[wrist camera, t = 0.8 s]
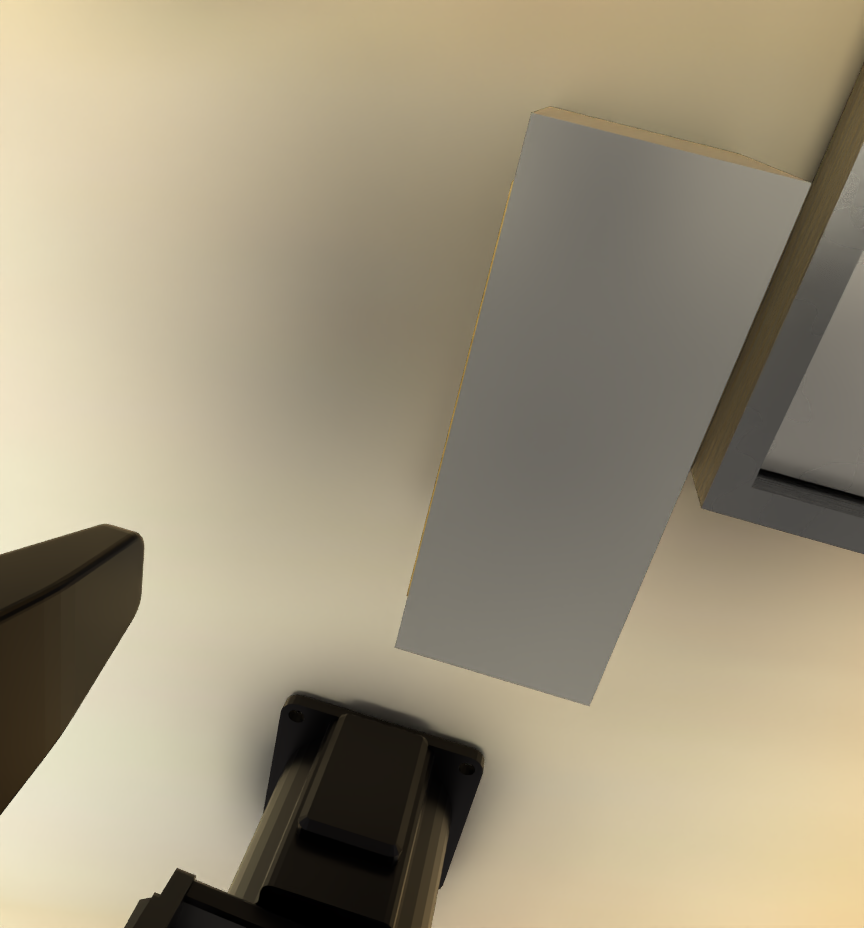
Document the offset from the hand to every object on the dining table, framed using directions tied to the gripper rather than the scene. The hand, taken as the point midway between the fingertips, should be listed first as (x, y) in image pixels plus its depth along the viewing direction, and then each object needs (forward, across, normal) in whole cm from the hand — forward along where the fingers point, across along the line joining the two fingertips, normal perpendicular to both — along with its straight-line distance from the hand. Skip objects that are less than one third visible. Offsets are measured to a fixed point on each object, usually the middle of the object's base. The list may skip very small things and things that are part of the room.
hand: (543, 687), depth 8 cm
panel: (+12, 0, 0) cm, 12 cm away
